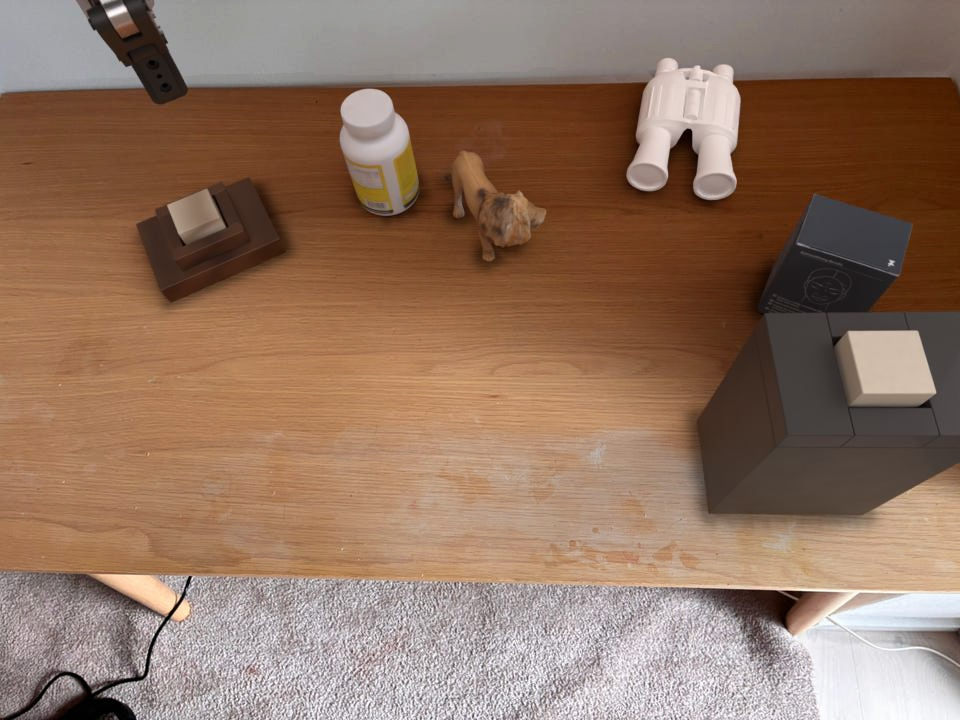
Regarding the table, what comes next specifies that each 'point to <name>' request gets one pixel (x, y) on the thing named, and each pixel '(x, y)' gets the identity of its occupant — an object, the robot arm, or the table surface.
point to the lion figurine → (492, 206)
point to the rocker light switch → (211, 242)
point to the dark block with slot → (825, 420)
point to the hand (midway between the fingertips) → (170, 93)
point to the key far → (196, 216)
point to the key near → (883, 369)
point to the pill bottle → (378, 153)
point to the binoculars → (694, 107)
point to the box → (836, 260)
